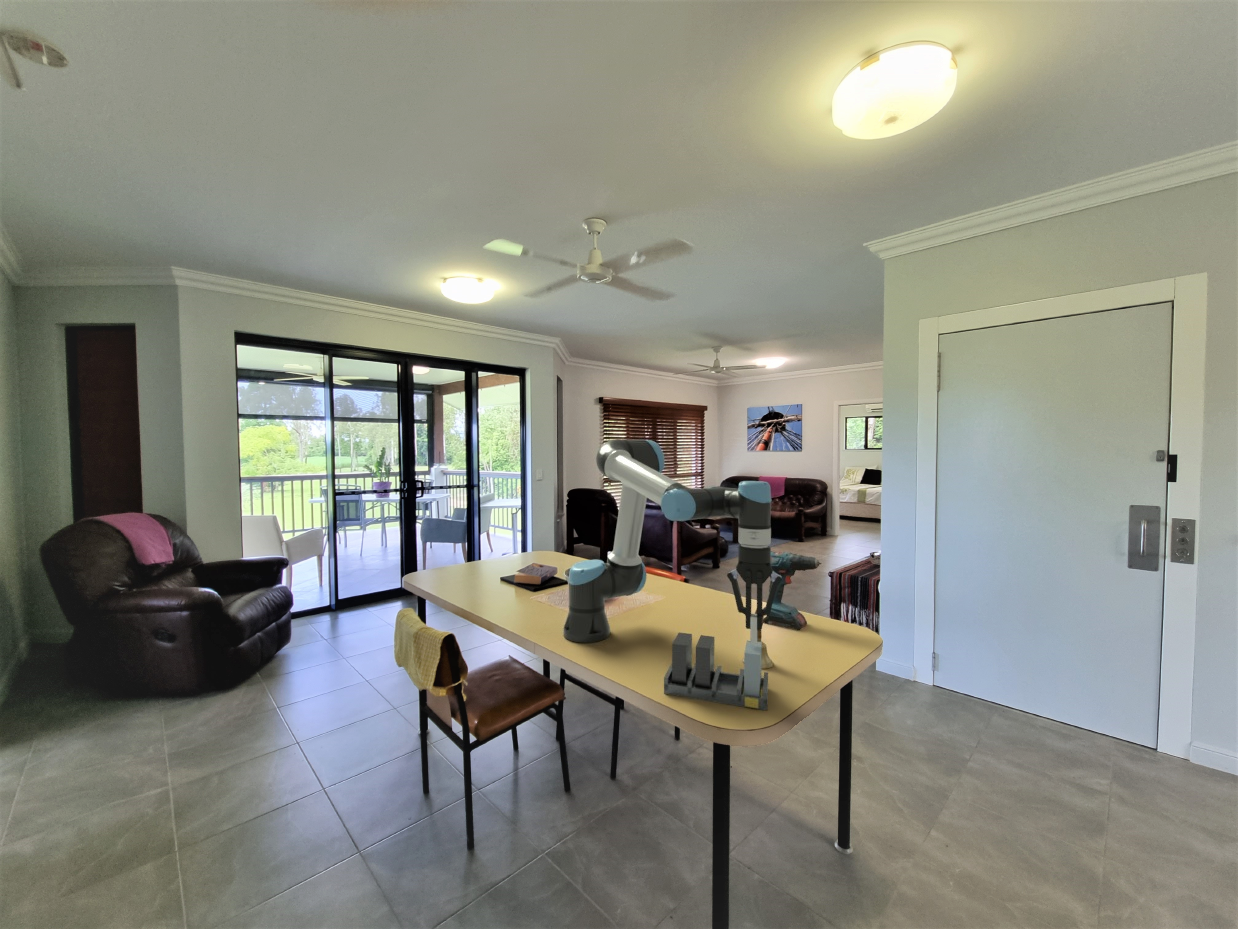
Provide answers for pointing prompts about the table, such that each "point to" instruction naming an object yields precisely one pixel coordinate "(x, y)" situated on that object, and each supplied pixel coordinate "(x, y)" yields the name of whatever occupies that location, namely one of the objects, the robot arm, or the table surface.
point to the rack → (707, 676)
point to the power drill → (786, 568)
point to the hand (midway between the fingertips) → (753, 642)
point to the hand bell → (763, 651)
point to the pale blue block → (752, 669)
